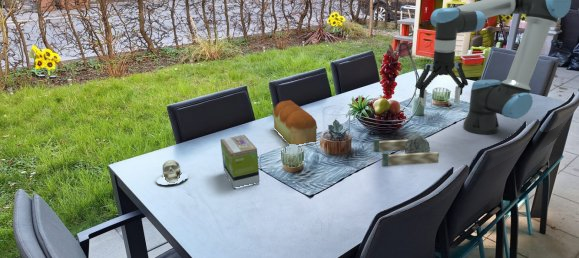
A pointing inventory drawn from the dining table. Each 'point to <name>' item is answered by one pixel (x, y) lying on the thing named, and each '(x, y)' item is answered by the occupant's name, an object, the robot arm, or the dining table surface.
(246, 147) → the tea box
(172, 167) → the skull
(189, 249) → the dining table surface
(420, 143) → the stone
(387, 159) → the chevron patterned bars
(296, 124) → the bread
